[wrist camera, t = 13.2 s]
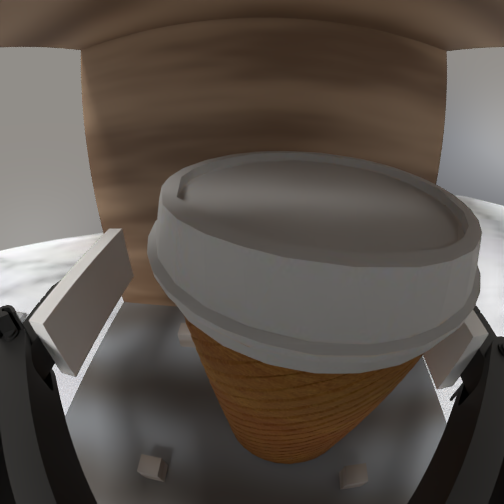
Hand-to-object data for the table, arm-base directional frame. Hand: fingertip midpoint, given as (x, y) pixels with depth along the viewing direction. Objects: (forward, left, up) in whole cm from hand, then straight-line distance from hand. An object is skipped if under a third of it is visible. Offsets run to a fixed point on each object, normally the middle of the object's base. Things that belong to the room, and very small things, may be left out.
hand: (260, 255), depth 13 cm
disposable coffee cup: (-4, 0, -8) cm, 9 cm away
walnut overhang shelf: (-3, +1, -8) cm, 9 cm away
